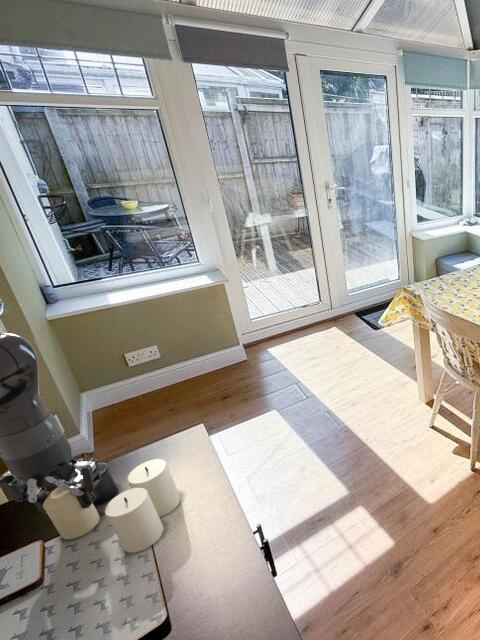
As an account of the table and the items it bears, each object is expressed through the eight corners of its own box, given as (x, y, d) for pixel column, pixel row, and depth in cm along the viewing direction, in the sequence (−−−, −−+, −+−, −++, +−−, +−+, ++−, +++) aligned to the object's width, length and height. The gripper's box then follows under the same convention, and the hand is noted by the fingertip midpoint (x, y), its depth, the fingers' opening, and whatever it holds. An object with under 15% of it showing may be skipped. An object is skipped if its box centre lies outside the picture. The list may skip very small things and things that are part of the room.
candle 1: (107, 517, 83) (88, 482, 79) (74, 543, 78) (52, 507, 74) (87, 510, 84) (68, 475, 80) (54, 535, 79) (31, 499, 75)
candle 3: (116, 555, 76) (94, 515, 72) (134, 525, 82) (115, 486, 77) (154, 549, 78) (134, 509, 73) (169, 520, 83) (152, 481, 79)
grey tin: (82, 508, 85) (68, 484, 82) (97, 488, 89) (85, 464, 86) (110, 503, 86) (97, 480, 83) (124, 484, 90) (112, 460, 87)
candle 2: (137, 521, 83) (118, 482, 78) (153, 495, 88) (136, 457, 83) (172, 515, 84) (155, 477, 79) (185, 490, 89) (170, 453, 85)
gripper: (94, 420, 77) (125, 484, 84) (-1, 431, 74) (39, 497, 81) (66, 451, 70) (102, 518, 77) (-41, 465, 67) (7, 533, 74)
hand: (69, 507), depth 79 cm, fingers closed on candle 1, 5 cm apart
